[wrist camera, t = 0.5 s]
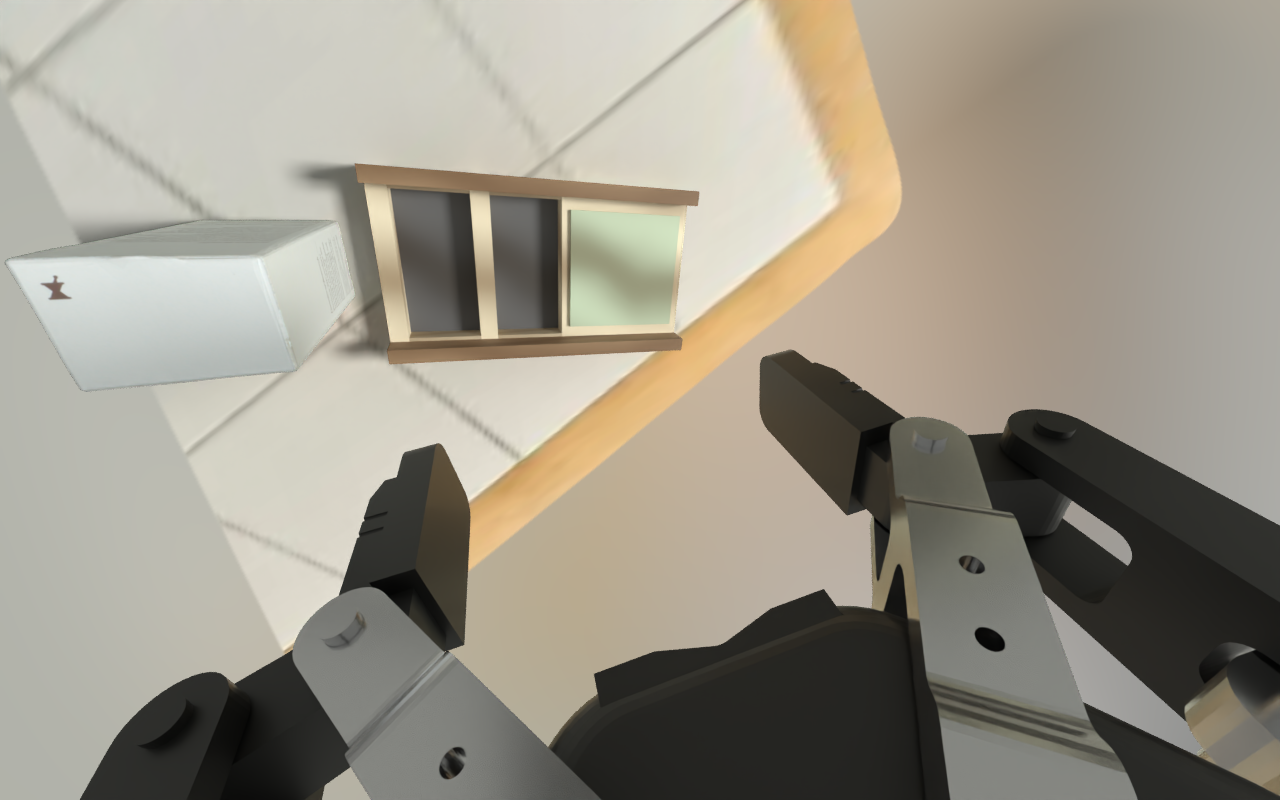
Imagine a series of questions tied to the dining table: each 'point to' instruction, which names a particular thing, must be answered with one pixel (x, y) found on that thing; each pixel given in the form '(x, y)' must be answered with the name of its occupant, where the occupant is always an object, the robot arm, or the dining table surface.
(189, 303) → the skincare box
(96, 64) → the dining table surface
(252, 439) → the dining table surface
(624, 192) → the board
